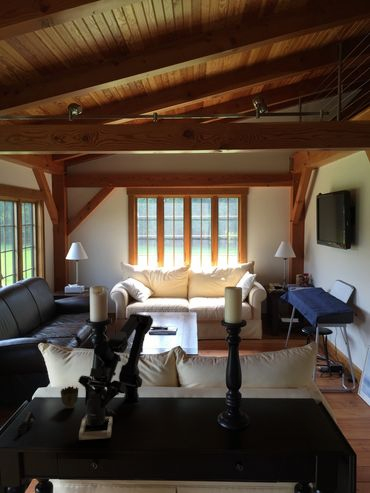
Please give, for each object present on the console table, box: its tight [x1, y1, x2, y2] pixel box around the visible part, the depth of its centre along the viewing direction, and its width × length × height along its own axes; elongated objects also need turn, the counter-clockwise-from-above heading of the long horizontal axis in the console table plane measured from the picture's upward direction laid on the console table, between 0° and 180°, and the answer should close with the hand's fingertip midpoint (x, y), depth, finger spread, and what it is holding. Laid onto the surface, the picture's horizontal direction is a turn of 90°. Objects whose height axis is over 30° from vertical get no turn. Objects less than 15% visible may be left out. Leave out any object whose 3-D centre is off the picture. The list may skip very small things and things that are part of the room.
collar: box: [78, 416, 113, 441], centre depth 149 cm, size 11×11×2 cm
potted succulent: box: [60, 385, 80, 410], centre depth 167 cm, size 8×7×8 cm
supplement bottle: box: [86, 388, 106, 427], centre depth 149 cm, size 7×7×12 cm
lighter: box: [16, 411, 36, 436], centre depth 150 cm, size 9×2×6 cm
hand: (94, 406), depth 148 cm, fingers closed on supplement bottle, 7 cm apart
